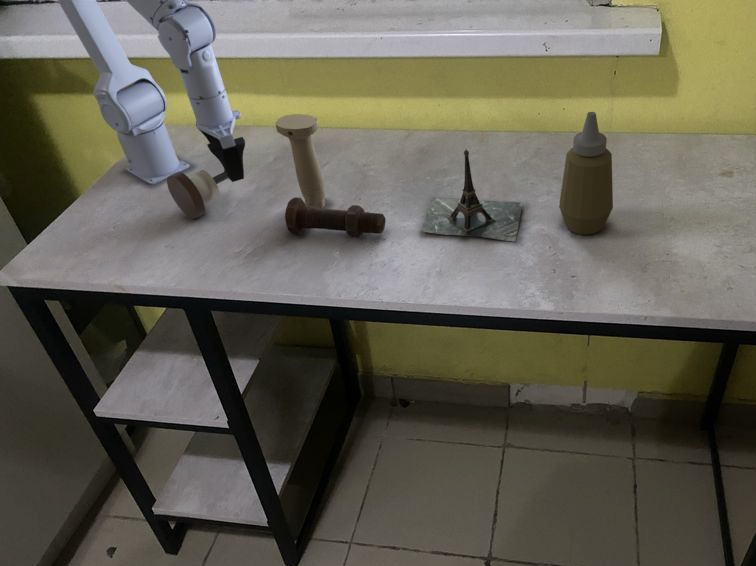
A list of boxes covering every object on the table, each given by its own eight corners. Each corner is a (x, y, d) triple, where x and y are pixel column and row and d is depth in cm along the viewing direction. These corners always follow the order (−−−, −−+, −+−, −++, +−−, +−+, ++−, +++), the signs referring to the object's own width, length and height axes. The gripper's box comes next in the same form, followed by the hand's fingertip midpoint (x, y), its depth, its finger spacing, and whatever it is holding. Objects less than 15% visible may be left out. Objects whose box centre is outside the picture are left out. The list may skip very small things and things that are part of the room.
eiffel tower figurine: (524, 205, 114) (523, 127, 105) (515, 241, 107) (513, 161, 98) (434, 200, 117) (425, 124, 107) (419, 235, 110) (409, 157, 100)
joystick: (232, 181, 125) (219, 141, 120) (258, 194, 121) (246, 154, 116) (177, 210, 119) (160, 170, 114) (202, 225, 116) (186, 184, 110)
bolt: (384, 246, 111) (294, 238, 113) (390, 217, 112) (301, 210, 115) (375, 230, 105) (281, 222, 108) (381, 200, 107) (288, 192, 109)
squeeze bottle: (615, 214, 110) (626, 103, 98) (605, 243, 105) (615, 130, 93) (565, 207, 113) (569, 98, 100) (552, 236, 107) (555, 124, 95)
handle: (328, 216, 115) (308, 130, 105) (293, 212, 117) (270, 127, 107) (340, 200, 119) (322, 115, 108) (306, 197, 120) (284, 112, 110)
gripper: (243, 101, 107) (266, 181, 116) (220, 70, 116) (243, 146, 126) (196, 113, 105) (224, 194, 114) (177, 80, 114) (204, 157, 124)
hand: (231, 169), depth 120 cm, fingers open, 7 cm apart
